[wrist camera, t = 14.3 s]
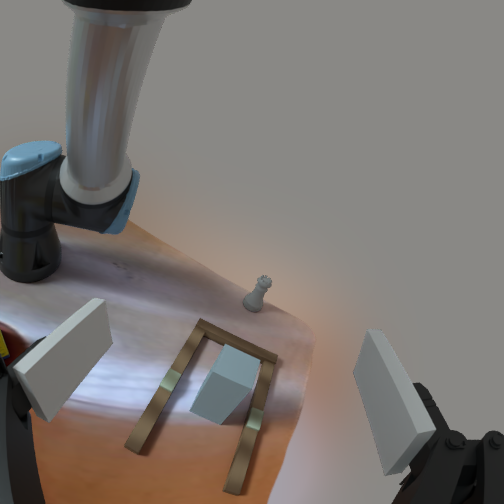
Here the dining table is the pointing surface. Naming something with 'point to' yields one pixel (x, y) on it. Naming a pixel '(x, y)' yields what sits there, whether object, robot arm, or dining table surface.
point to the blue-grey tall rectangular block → (225, 384)
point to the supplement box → (3, 347)
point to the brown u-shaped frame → (255, 409)
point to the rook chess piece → (257, 294)
